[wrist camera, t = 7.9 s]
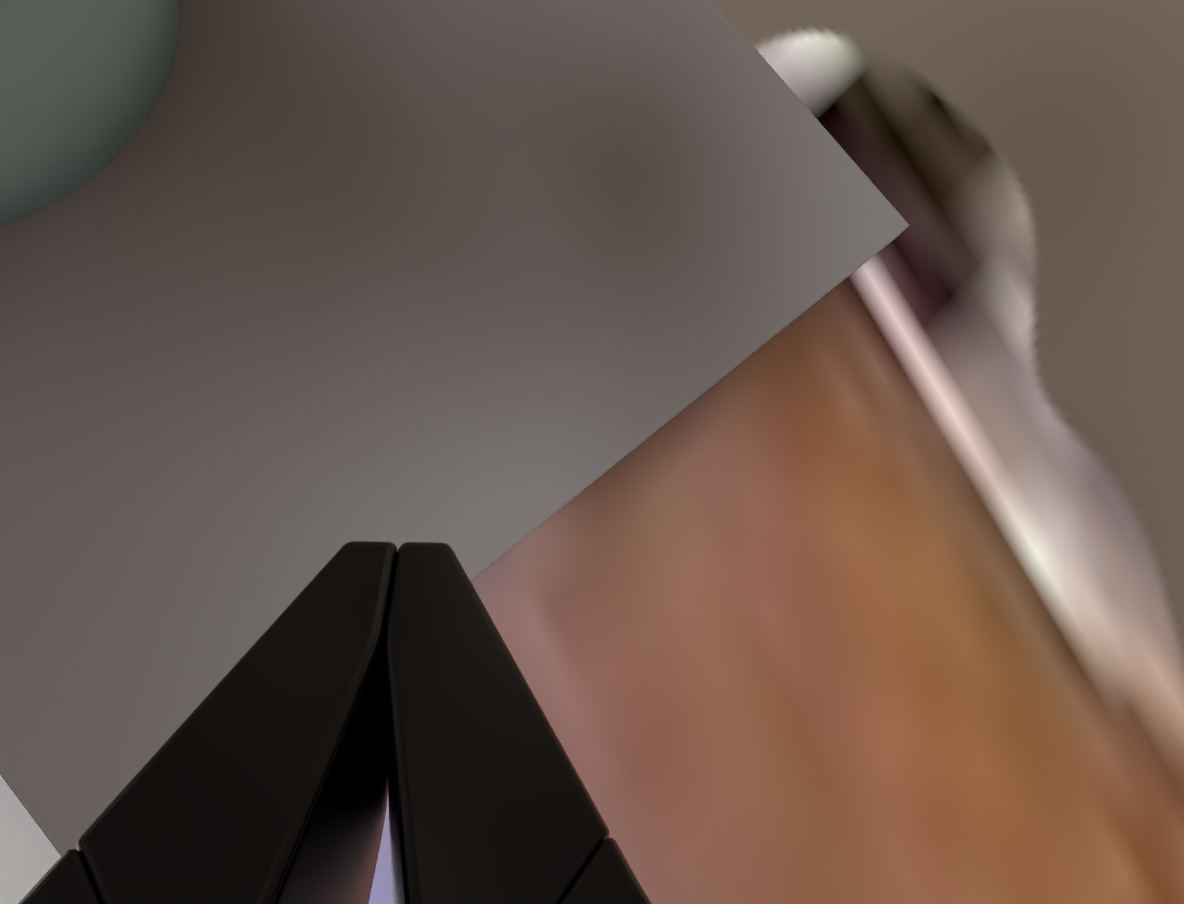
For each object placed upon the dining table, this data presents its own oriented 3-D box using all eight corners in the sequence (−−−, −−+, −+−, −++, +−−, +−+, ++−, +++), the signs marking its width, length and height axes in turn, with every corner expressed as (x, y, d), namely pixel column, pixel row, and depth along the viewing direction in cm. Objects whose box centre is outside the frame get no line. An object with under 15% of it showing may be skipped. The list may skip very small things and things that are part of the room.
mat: (99, 880, 16) (85, 889, 16) (-539, 30, 18) (-572, 9, 17) (896, 237, 21) (908, 225, 20) (333, -410, 22) (330, -439, 21)
